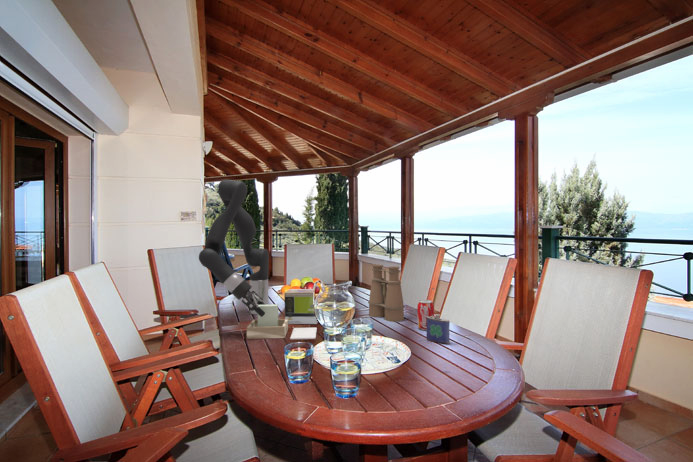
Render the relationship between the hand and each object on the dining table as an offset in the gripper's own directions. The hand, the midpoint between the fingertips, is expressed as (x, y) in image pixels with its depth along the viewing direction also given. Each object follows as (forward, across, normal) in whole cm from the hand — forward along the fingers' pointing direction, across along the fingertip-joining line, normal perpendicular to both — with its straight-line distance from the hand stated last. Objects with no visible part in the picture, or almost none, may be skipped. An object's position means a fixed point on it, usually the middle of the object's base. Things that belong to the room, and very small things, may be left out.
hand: (265, 312), depth 148 cm
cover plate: (+7, 0, +6) cm, 9 cm away
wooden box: (+7, 0, +6) cm, 9 cm away
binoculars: (+45, +23, -32) cm, 59 cm away
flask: (+55, -15, -42) cm, 70 cm away
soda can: (+54, +2, -42) cm, 69 cm away
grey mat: (+18, -1, -5) cm, 18 cm away
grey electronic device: (+16, +18, -3) cm, 25 cm away
